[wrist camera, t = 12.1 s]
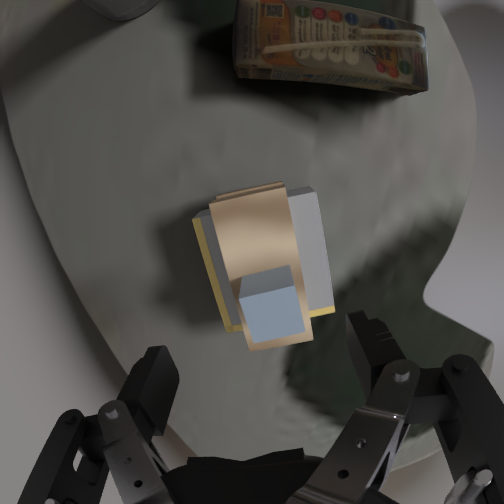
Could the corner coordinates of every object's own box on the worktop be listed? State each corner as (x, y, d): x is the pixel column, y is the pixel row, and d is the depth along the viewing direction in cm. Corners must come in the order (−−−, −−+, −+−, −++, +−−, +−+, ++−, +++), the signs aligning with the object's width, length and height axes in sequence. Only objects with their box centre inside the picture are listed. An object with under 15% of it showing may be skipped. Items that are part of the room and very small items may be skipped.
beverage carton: (406, 100, 28) (435, 93, 22) (234, 82, 28) (227, 66, 22) (403, 40, 25) (429, 23, 19) (237, 19, 26) (231, -8, 19)
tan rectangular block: (217, 195, 28) (208, 204, 23) (281, 180, 27) (285, 187, 23) (251, 323, 32) (249, 351, 28) (306, 312, 32) (313, 339, 27)
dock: (200, 210, 33) (191, 219, 29) (309, 186, 31) (316, 191, 28) (230, 314, 37) (226, 332, 33) (328, 294, 35) (335, 311, 32)
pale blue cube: (242, 276, 25) (238, 298, 21) (289, 264, 25) (294, 285, 21) (255, 316, 26) (253, 343, 23) (300, 306, 26) (305, 331, 22)
